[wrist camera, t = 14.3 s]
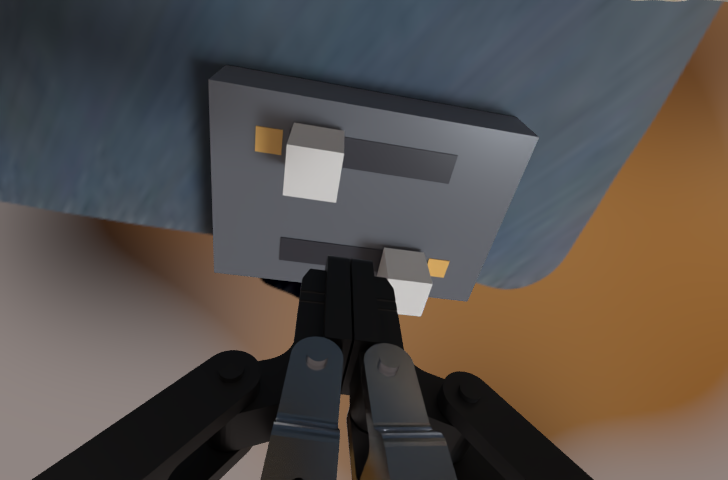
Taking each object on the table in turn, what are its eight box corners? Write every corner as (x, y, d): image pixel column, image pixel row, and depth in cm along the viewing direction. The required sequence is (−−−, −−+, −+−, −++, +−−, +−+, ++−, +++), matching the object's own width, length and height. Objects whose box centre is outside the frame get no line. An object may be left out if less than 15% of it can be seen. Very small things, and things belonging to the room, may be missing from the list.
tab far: (375, 279, 31) (378, 311, 28) (383, 247, 29) (388, 278, 26) (413, 283, 31) (420, 316, 28) (424, 252, 29) (432, 283, 27)
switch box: (227, 242, 34) (213, 273, 30) (225, 64, 26) (207, 79, 22) (456, 270, 36) (467, 302, 33) (516, 117, 28) (539, 137, 25)
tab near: (289, 169, 25) (282, 195, 22) (293, 122, 24) (286, 144, 21) (337, 176, 26) (336, 202, 23) (344, 130, 24) (344, 153, 21)
